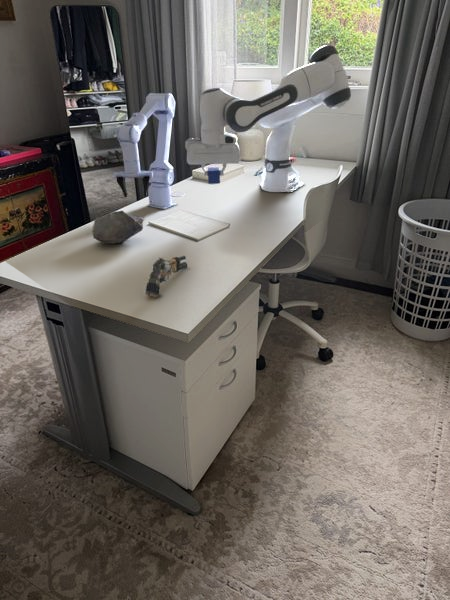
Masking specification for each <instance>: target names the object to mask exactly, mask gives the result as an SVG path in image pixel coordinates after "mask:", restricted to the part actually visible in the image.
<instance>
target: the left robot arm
mask: <svg viewBox="0 0 450 600" xmlns="http://www.w3.org/2000/svg"><path fill="white" fill-rule="evenodd" d="M175 111H176V100H175V98H174V96H173V94H172V93H170V92H169V93H155V92H149V93H148V94H147V96H146V97H145V103H144V105H143V106H142V108H141V110H139V112H133V113H132V115H131V117H130V118H129V119H128V120H127V121H126V123H125V124H124V125H120V126H119V127H118V128H117V130H116V139H117V141H118V142H119V146H120V147H121V151H122V159H123V166H124V171H114V172H113V173H112V176H113V179H116V183H117V184H118V186H119V187H120V189H121V191H122V194H123V196H124V198H127V197H128V191H127V185H126V179H130V178H131V179H132V178H142V185H143V194H144V195H143V197H145V198H146V197H147V196H148V202H149V203H148V205H147V206H148V207H152V208H156V209H161V210H166V209H168V208H171V207H174V206H176V205H177V203H175V202H172V192H171V191H172V190H171V186H172V184H173V182H174V179H175V174H174V167H173V165H171V164H170V162H169V157H170V156H169V155H170V144H171V135H172V124H173V118H174V117H175ZM152 115H153V116H154V118H157V120H158V128H157V138H156V149H155V160H154V161H153V162H151V164H149V169H148V170H141V164H140V155H139V154H140V153H139V147H138V143H139V141H140V140H141V139H140V138H141V135H142V131H143V130H144V129H145V128H146V126H147V125H148V119H149V118H150V117H151V116H152ZM149 183H150V185H149Z"/></svg>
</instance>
